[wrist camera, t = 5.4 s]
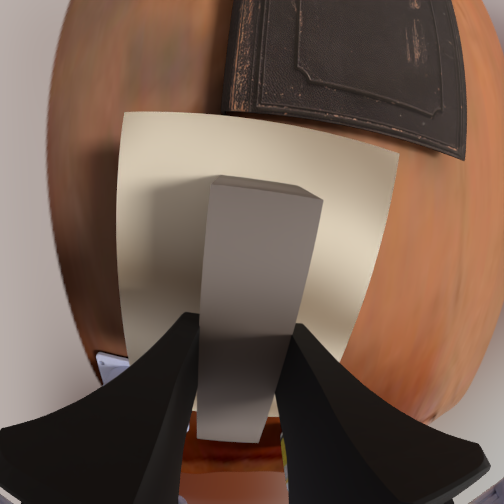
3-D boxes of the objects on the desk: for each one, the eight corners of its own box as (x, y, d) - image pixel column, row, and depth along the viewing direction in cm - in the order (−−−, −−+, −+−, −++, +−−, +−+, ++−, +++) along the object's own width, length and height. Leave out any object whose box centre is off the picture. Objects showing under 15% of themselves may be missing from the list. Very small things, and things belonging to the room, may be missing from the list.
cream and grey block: (309, 397, 15) (323, 457, 10) (143, 382, 14) (123, 441, 10) (381, 152, 10) (450, 158, 6) (139, 116, 9) (79, 99, 5)
